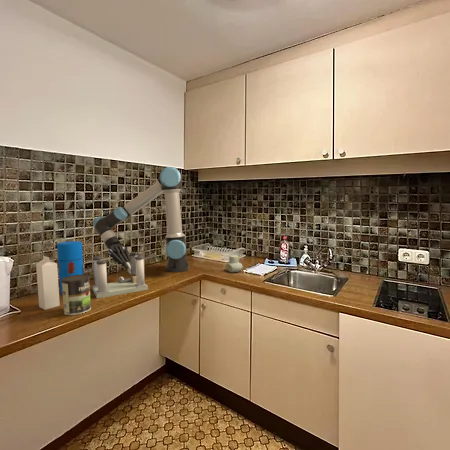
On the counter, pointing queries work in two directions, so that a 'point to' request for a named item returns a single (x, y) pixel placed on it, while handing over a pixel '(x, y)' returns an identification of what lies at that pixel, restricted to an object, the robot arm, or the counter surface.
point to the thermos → (69, 260)
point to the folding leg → (133, 268)
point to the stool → (117, 288)
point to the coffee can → (76, 294)
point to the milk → (47, 284)
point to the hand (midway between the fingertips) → (132, 272)
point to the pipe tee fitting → (234, 264)
